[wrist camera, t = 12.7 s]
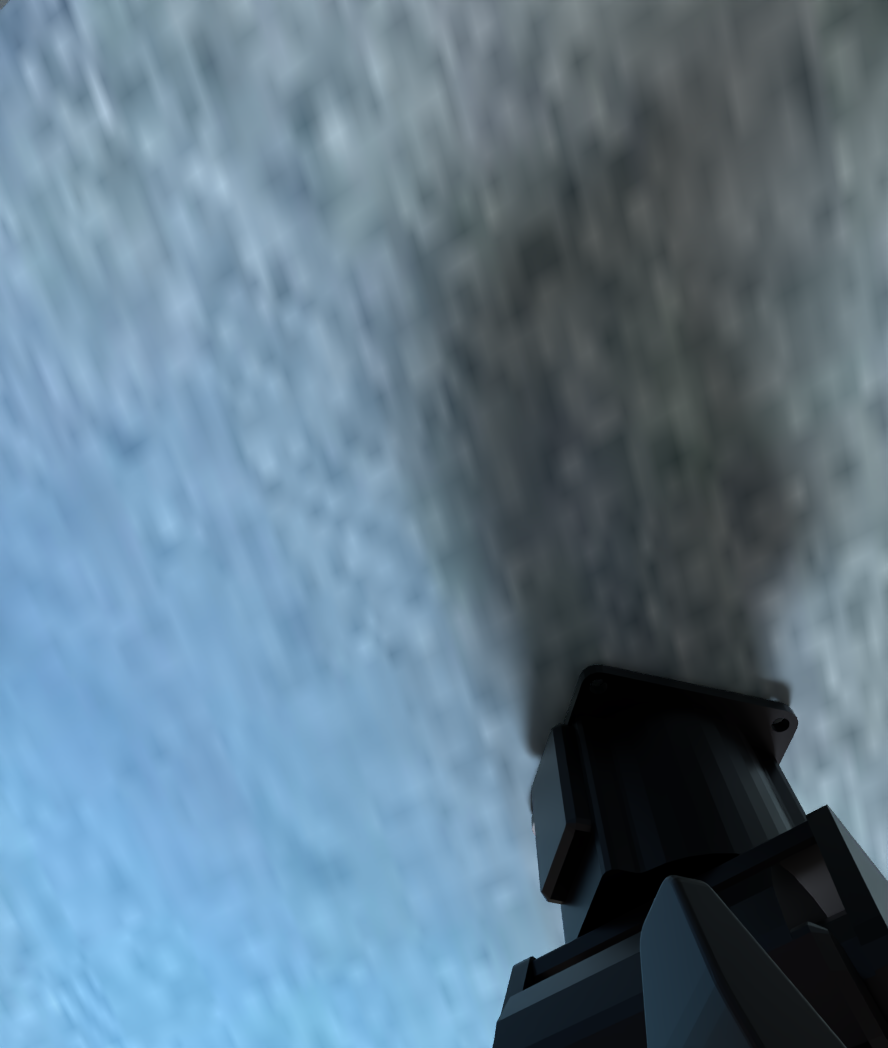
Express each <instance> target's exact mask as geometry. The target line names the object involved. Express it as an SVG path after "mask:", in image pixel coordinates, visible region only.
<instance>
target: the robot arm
mask: <svg viewBox="0 0 888 1048" xmlns="http://www.w3.org/2000/svg"><path fill="white" fill-rule="evenodd" d="M600 679H601V680H603V681H604V683H603V684H602V685H600V686H592V685H590V684H591V683H592V681H594V680H600ZM778 718H784V719H783V720H782V721H781V722H779V723H773V722H774V720H776V719H778ZM772 723H773V724H772ZM797 726H798V720H797V717H796V715H795V714H794V712H793V711H792V709H791V708H790V707H789V706H788V705H786V704H784V703H780V702H775V701H771V700H766V699H761V698H756V697H752V696H747V695H742V694H737V693H733V692H728V691H723V690H718V689H714V688H709V687H704V686H699V685H695V684H690V683H685V682H680V681H676V680H671V679H666V678H661V677H657V676H652V675H647V674H642V673H638V672H633V671H628V670H623V669H619V668H614V667H609V666H604V665H592V666H588V667H587V668H586V669H584V670H583V671H582V673H581V675H580V677H579V680H578V683H577V686H576V689H575V692H574V695H573V697H572V700H571V703H570V706H569V709H568V712H567V715H566V718H565V721H564V724H562V723H559V724H558V725H556V726H555V727H554V728H552V729H551V732H550V735H549V738H548V741H547V744H546V747H545V750H544V753H543V756H542V759H541V762H540V765H539V768H538V771H537V774H536V777H535V780H534V783H533V786H532V790H531V793H532V804H533V814H532V831H533V833H534V835H535V836H536V847H537V858H538V869H539V880H540V891H541V893H542V894H543V896H544V898H545V899H546V901H548V902H552V903H557V904H561V912H562V920H563V929H564V937H565V945H563V946H561V947H559V948H557V949H555V950H553V951H551V952H549V953H547V954H545V955H543V956H541V957H539V958H537V959H536V958H534V957H529V958H527V959H525V960H523V961H521V962H519V963H518V964H516V965H514V966H513V968H512V972H511V976H510V980H509V984H508V988H507V992H506V996H505V1000H504V1004H503V1008H502V1012H501V1015H500V1017H499V1019H498V1021H497V1024H496V1031H495V1038H494V1043H493V1047H492V1048H888V881H887V880H886V879H885V877H884V876H883V875H882V873H881V872H880V871H879V870H878V868H877V867H876V866H875V865H874V863H873V862H872V861H871V859H870V858H869V857H868V856H867V854H866V853H865V852H864V851H863V849H862V848H861V847H860V845H859V844H858V843H857V842H856V840H855V839H854V838H853V837H852V835H851V834H850V833H849V831H848V830H847V829H846V828H845V826H844V825H843V824H842V823H841V821H840V820H839V819H838V817H837V816H836V815H835V814H834V812H833V811H832V810H831V809H830V807H829V806H828V805H825V806H823V807H821V808H819V809H817V810H815V811H813V812H811V813H809V814H807V815H806V814H805V812H804V810H803V808H802V806H801V805H800V803H799V801H798V799H797V797H796V795H795V794H794V792H793V790H792V788H791V786H790V784H789V783H788V781H787V779H786V777H785V775H784V773H783V772H782V770H781V768H780V766H779V764H780V762H781V760H782V758H783V756H784V754H785V752H786V750H787V748H788V746H789V744H790V742H791V740H792V738H793V735H794V733H795V731H796V729H797Z"/></svg>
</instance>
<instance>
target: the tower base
mask: <svg viewBox="0 0 888 1048" xmlns="http://www.w3.org/2000/svg"><path fill="white" fill-rule="evenodd" d="M8 1H9V0H0V10H1V9H2V8H3V7H4V6H5V5H6V3H7V2H8Z"/></svg>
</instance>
